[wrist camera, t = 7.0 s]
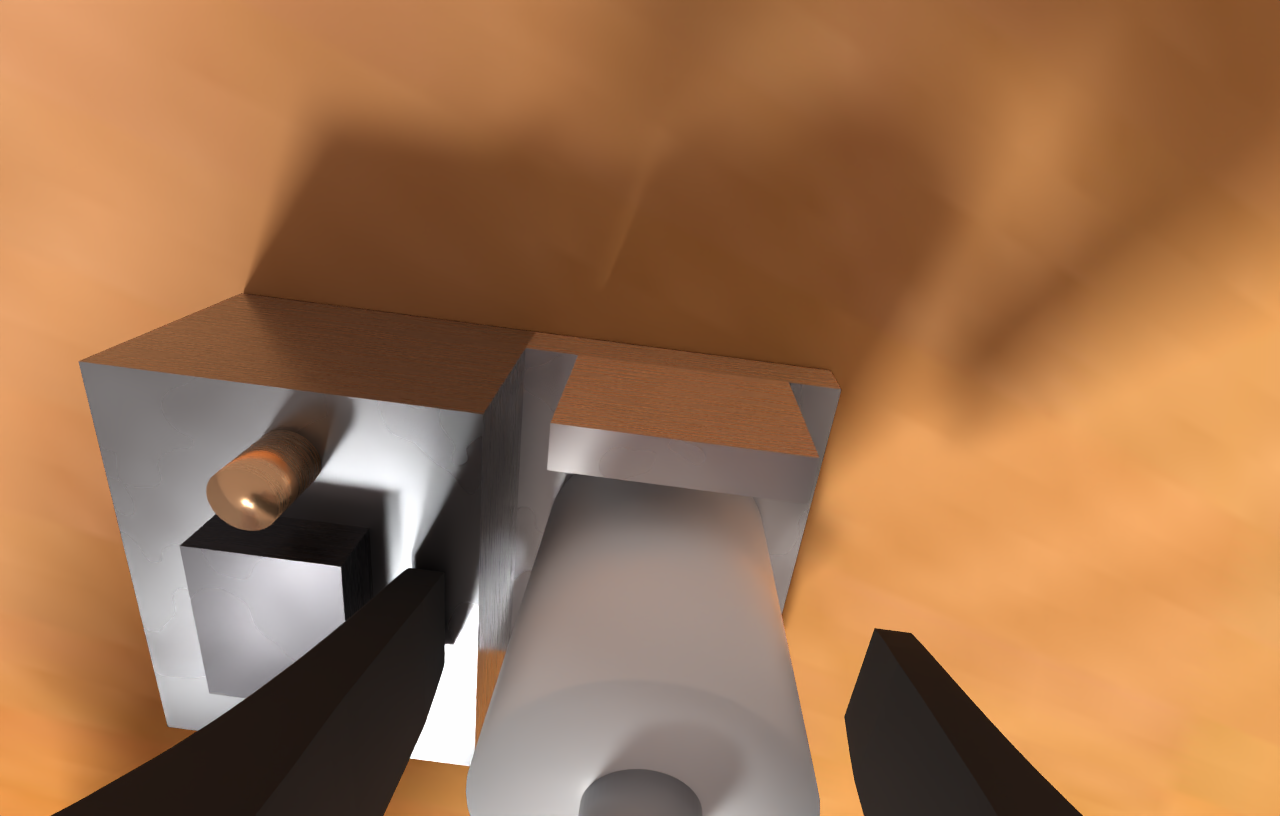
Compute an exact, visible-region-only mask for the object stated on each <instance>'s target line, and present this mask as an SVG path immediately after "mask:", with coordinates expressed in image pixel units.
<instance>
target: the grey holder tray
mask: <svg viewBox="0 0 1280 816" xmlns="http://www.w3.org/2000/svg"><path fill="white" fill-rule="evenodd" d="M79 365H80V369H81V373H82V377H83V382H84V386H85V390H86V394H87V398H88V402H89V406H90V410H91V414H92V418H93V423H94V427H95V431H96V435H97V439H98V443H99V447H100V451H101V455H102V459H103V463H104V468H105V472H106V476H107V480H108V484H109V488H110V492H111V496H112V500H113V504H114V509H115V513H116V517H117V521H118V525H119V529H120V533H121V537H122V541H123V545H124V550H125V554H126V558H127V562H128V566H129V570H130V574H131V578H132V582H133V586H134V590H135V595H136V599H137V603H138V607H139V611H140V615H141V619H142V623H143V627H144V631H145V636H146V640H147V644H148V648H149V652H150V656H151V660H152V664H153V668H154V672H155V677H156V681H157V685H158V689H159V693H160V697H161V701H162V705H163V709H164V713H165V717H166V722H167V726H168V727H173V728H181V729H188V730H196V731H198V730H200V729H201V728H203V727H205V726H206V725H208V724H209V723H211V722H212V721H214V720H215V719H217V718H218V717H220V716H221V715H223V714H224V713H225V712H227V711H228V710H230V709H231V708H233V707H234V706H236V705H237V704H238V703H240V702H241V701H243V700H244V699H246V698H247V697H248V696H250V695H251V694H253V693H254V692H255V691H257V690H258V689H259V688H261V687H262V686H263V685H265V684H266V683H267V682H269V681H270V680H271V679H273V678H274V677H275V676H277V675H278V674H279V673H281V672H282V671H283V670H285V669H286V668H287V667H289V666H290V665H291V664H293V663H294V662H295V661H297V660H298V659H299V658H301V657H302V656H303V655H304V654H306V653H307V652H308V651H309V650H311V649H312V648H313V647H314V646H316V645H317V644H318V643H319V642H320V641H322V640H323V639H324V638H325V637H327V636H328V635H329V634H330V633H331V632H333V631H334V630H335V629H336V628H338V627H339V626H340V625H341V624H343V623H344V622H345V621H346V620H347V619H348V618H350V617H351V616H352V615H353V614H354V613H355V612H357V611H358V610H359V609H360V608H361V607H363V606H364V605H365V604H366V603H367V602H368V601H369V600H371V599H372V598H373V597H374V596H375V595H376V594H377V593H379V592H380V591H381V590H382V589H383V588H384V587H386V586H387V585H388V584H389V583H390V582H391V581H392V580H394V579H395V578H396V577H397V576H398V575H399V574H401V573H402V572H403V571H404V570H406V569H407V568H415V569H423V570H431V571H439V572H445V666H444V669H443V672H442V675H441V679H440V682H439V685H438V688H437V691H436V694H435V697H434V700H433V703H432V706H431V709H430V712H429V715H428V718H427V720H426V723H425V726H424V728H423V730H422V733H421V735H420V737H419V739H418V741H417V744H416V746H415V748H414V750H413V752H412V754H411V757H410V758H411V759H419V760H427V761H434V762H442V763H450V764H457V765H465V766H470V764H471V761H472V758H473V755H474V751H475V748H476V745H477V742H478V739H479V736H480V733H481V729H482V726H483V723H484V720H485V717H486V714H487V710H488V707H489V704H490V701H491V698H492V695H493V691H494V688H495V685H496V682H497V679H498V676H499V673H500V669H501V666H502V663H503V660H504V657H505V654H506V650H507V647H508V644H509V641H510V638H511V635H512V631H513V628H514V625H515V622H516V619H517V616H518V613H519V609H520V606H521V603H522V600H523V597H524V594H525V590H526V587H527V584H528V581H529V578H530V575H531V571H532V568H533V565H534V562H535V559H536V556H537V553H538V549H539V546H540V543H541V540H542V537H543V534H544V530H545V527H546V524H547V521H548V518H549V515H550V512H551V508H552V505H553V503H554V501H555V499H556V497H557V495H558V493H559V492H560V490H561V489H562V487H563V486H564V484H565V483H566V482H567V481H568V480H569V479H570V478H571V477H572V475H573V474H581V475H589V476H596V477H604V478H612V479H619V480H627V481H635V482H642V483H650V484H658V485H665V486H673V487H681V488H688V489H696V490H703V491H711V492H719V493H726V494H734V495H742V496H749V497H753V499H754V501H755V503H756V504H757V507H758V510H759V512H760V515H761V518H762V523H763V528H764V533H765V538H766V542H767V547H768V552H769V557H770V562H771V566H772V571H773V576H774V581H775V586H776V590H777V595H778V600H779V605H780V610H781V614H782V612H783V608H784V604H785V600H786V596H787V593H788V589H789V585H790V581H791V578H792V574H793V570H794V566H795V562H796V559H797V555H798V551H799V547H800V544H801V540H802V536H803V532H804V529H805V525H806V521H807V517H808V513H809V510H810V506H811V502H812V498H813V495H814V491H815V487H816V483H817V479H818V476H819V472H820V468H821V464H822V461H823V457H824V453H825V449H826V446H827V442H828V438H829V434H830V430H831V427H832V423H833V419H834V415H835V412H836V408H837V404H838V400H839V397H840V393H841V388H840V386H839V384H838V383H837V381H836V379H835V378H834V376H833V374H832V372H831V371H830V370H823V369H816V368H808V367H800V366H793V365H785V364H777V363H770V362H762V361H754V360H747V359H739V358H732V357H724V356H716V355H709V354H701V353H693V352H686V351H678V350H670V349H663V348H655V347H647V346H640V345H632V344H624V343H617V342H609V341H602V340H594V339H586V338H579V337H571V336H563V335H556V334H548V333H540V332H533V331H525V330H517V329H510V328H502V327H494V326H487V325H479V324H471V323H464V322H456V321H449V320H441V319H433V318H426V317H418V316H410V315H403V314H395V313H387V312H380V311H372V310H364V309H357V308H349V307H341V306H334V305H326V304H319V303H311V302H303V301H296V300H288V299H280V298H273V297H265V296H257V295H250V294H242V293H241V294H239V295H236V296H234V297H231V298H229V299H227V300H224V301H222V302H220V303H217V304H215V305H212V306H210V307H208V308H205V309H203V310H200V311H198V312H196V313H193V314H191V315H188V316H186V317H184V318H181V319H179V320H176V321H174V322H172V323H169V324H167V325H164V326H162V327H160V328H157V329H155V330H153V331H150V332H148V333H145V334H143V335H141V336H138V337H136V338H133V339H131V340H129V341H126V342H124V343H121V344H119V345H117V346H114V347H112V348H109V349H107V350H105V351H102V352H100V353H98V354H95V355H93V356H90V357H88V358H86V359H83V360H81V361H79Z"/></svg>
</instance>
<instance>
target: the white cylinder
mask: <svg viewBox="0 0 1280 816" xmlns="http://www.w3.org/2000/svg"><path fill="white" fill-rule="evenodd" d="M466 797H467V806H468V810H469V813H470V816H820V799H819V793H818V788H817V783H816V778H815V773H814V768H813V764H812V759H811V754H810V749H809V744H808V740H807V735H806V730H805V725H804V720H803V715H802V711H801V706H800V701H799V696H798V691H797V687H796V682H795V677H794V672H793V667H792V663H791V658H790V653H789V648H788V643H787V639H786V634H785V629H784V624H783V619H782V614H781V610H780V605H779V600H778V595H777V590H776V586H775V581H774V576H773V571H772V566H771V562H770V557H769V552H768V547H767V542H766V538H765V533H764V528H763V523H762V518H761V515H760V512H759V510H758V507H757V504H756V503H755V501H754V499H753V497H749V496H742V495H734V494H726V493H719V492H711V491H703V490H696V489H688V488H681V487H673V486H665V485H658V484H650V483H642V482H635V481H627V480H619V479H612V478H604V477H596V476H589V475H581V474H573V475H572V477H571V478H570V479H569V480H568V481H567V482H566V483H565V484H564V486H563V487H562V489H561V490H560V492H559V493H558V495H557V497H556V499H555V501H554V503H553V505H552V508H551V512H550V515H549V518H548V521H547V524H546V527H545V530H544V534H543V537H542V540H541V543H540V546H539V549H538V553H537V556H536V559H535V562H534V565H533V568H532V571H531V575H530V578H529V581H528V584H527V587H526V590H525V594H524V597H523V600H522V603H521V606H520V609H519V613H518V616H517V619H516V622H515V625H514V628H513V631H512V635H511V638H510V641H509V644H508V647H507V650H506V654H505V657H504V660H503V663H502V666H501V669H500V673H499V676H498V679H497V682H496V685H495V688H494V691H493V695H492V698H491V701H490V704H489V707H488V710H487V714H486V717H485V720H484V723H483V726H482V729H481V733H480V736H479V739H478V742H477V745H476V748H475V751H474V755H473V758H472V761H471V764H470V768H469V772H468V775H467V784H466Z"/></svg>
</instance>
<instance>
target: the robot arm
mask: <svg viewBox="0 0 1280 816" xmlns="http://www.w3.org/2000/svg"><path fill="white" fill-rule="evenodd" d="M444 666H445V572H439V571H431V570H423V569H415V568H407V569H406V570H404V571H403V572H402V573H401V574H399V575H398V576H397V577H396V578H395V579H394V580H392V581H391V582H390V583H389V584H388V585H387V586H386V587H384V588H383V589H382V590H381V591H380V592H379V593H377V594H376V595H375V596H374V597H373V598H372V599H371V600H369V601H368V602H367V603H366V604H365V605H364V606H363V607H361V608H360V609H359V610H358V611H357V612H355V613H354V614H353V615H352V616H351V617H350V618H348V619H347V620H346V621H345V622H344V623H343V624H341V625H340V626H339V627H338V628H336V629H335V630H334V631H333V632H331V633H330V634H329V635H328V636H327V637H325V638H324V639H323V640H322V641H320V642H319V643H318V644H317V645H316V646H314V647H313V648H312V649H311V650H309V651H308V652H307V653H306V654H304V655H303V656H302V657H301V658H299V659H298V660H297V661H295V662H294V663H293V664H291V665H290V666H289V667H287V668H286V669H285V670H283V671H282V672H281V673H279V674H278V675H277V676H275V677H274V678H273V679H271V680H270V681H269V682H267V683H266V684H265V685H263V686H262V687H261V688H259V689H258V690H257V691H255V692H254V693H253V694H251V695H250V696H248V697H247V698H246V699H244V700H243V701H241V702H240V703H238V704H237V705H236V706H234V707H233V708H231V709H230V710H228V711H227V712H225V713H224V714H223V715H221V716H220V717H218V718H217V719H215V720H214V721H212V722H211V723H209V724H208V725H206V726H205V727H203V728H201V729H200V730H198V731H197V732H195V733H194V734H192V735H191V736H189V737H188V738H186V739H184V740H183V741H181V742H180V743H178V744H177V745H175V746H173V747H172V748H170V749H168V750H167V751H165V752H163V753H162V754H160V755H158V756H157V757H155V758H153V759H152V760H150V761H148V762H146V763H145V764H143V765H141V766H139V767H138V768H136V769H134V770H132V771H131V772H129V773H127V774H125V775H124V776H122V777H120V778H118V779H117V780H115V781H113V782H111V783H110V784H108V785H106V786H104V787H103V788H101V789H99V790H97V791H96V792H94V793H92V794H90V795H89V796H87V797H85V798H83V799H81V800H80V801H78V802H76V803H74V804H72V805H70V806H68V807H66V808H65V809H63V810H61V811H59V812H57V813H55V814H53V815H51V816H383V815H384V813H385V811H386V809H387V806H388V804H389V802H390V800H391V798H392V796H393V793H394V791H395V789H396V787H397V785H398V783H399V781H400V778H401V776H402V774H403V772H404V770H405V768H406V765H407V763H408V761H409V759H410V757H411V754H412V752H413V750H414V748H415V746H416V744H417V741H418V739H419V737H420V735H421V733H422V730H423V728H424V726H425V723H426V720H427V718H428V715H429V712H430V709H431V706H432V703H433V700H434V697H435V694H436V691H437V688H438V685H439V682H440V679H441V675H442V672H443V669H444ZM845 724H846V731H847V738H848V745H849V752H850V757H851V763H852V769H853V775H854V780H855V784H856V788H857V792H858V795H859V799H860V803H861V806H862V810H863V813H864V816H1083V815H1082V814H1080V813H1079V812H1078V811H1077V810H1076V809H1075V808H1074V807H1073V806H1072V805H1071V804H1070V803H1069V802H1068V801H1067V800H1066V799H1065V798H1064V797H1063V796H1062V795H1061V794H1060V793H1059V792H1058V791H1057V790H1056V789H1055V788H1054V787H1053V786H1052V785H1051V784H1050V783H1049V782H1048V781H1047V780H1046V779H1045V778H1044V777H1043V776H1042V775H1041V774H1040V773H1039V772H1038V771H1037V770H1036V769H1035V768H1034V767H1033V766H1032V765H1031V764H1030V763H1029V762H1028V761H1027V760H1026V759H1025V757H1024V756H1023V755H1022V754H1021V753H1020V752H1019V751H1018V750H1017V749H1016V748H1015V747H1014V746H1013V745H1012V744H1011V743H1010V742H1009V741H1008V740H1007V738H1006V737H1005V736H1004V735H1003V734H1002V733H1001V732H1000V731H999V730H998V729H997V728H996V727H995V726H994V724H993V723H992V722H991V721H990V720H989V719H988V718H987V717H986V716H985V715H984V713H983V712H982V711H981V710H980V709H979V708H978V707H977V706H976V705H975V704H974V702H973V701H972V700H971V699H970V698H969V697H968V696H967V695H966V693H965V692H964V691H963V690H962V689H961V688H960V687H959V686H958V684H957V683H956V682H955V681H954V680H953V679H952V678H951V677H950V675H949V674H948V673H947V672H946V671H945V670H944V669H943V667H942V666H941V665H940V664H939V663H938V662H937V661H936V660H935V658H934V657H933V656H932V655H931V654H930V653H929V652H928V651H927V650H926V648H925V647H924V646H923V645H922V644H921V643H920V642H919V641H918V640H917V639H916V638H915V637H914V636H913V634H912V633H906V632H899V631H891V630H883V629H876V628H875V629H874V632H873V635H872V638H871V641H870V644H869V647H868V649H867V652H866V655H865V658H864V661H863V664H862V667H861V670H860V673H859V676H858V679H857V682H856V684H855V687H854V690H853V693H852V696H851V699H850V702H849V705H848V708H847V711H846V714H845Z"/></svg>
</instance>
